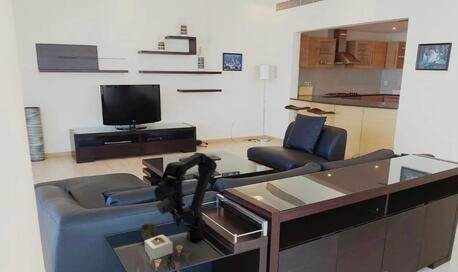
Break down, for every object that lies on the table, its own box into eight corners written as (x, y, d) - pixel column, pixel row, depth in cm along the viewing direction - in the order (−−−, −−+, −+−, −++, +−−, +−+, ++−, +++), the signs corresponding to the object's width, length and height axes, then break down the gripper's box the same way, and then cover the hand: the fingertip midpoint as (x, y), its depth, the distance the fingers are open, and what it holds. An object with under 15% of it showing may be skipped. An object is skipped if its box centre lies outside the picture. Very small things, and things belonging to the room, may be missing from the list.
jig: (163, 244, 153) (162, 234, 152) (172, 252, 147) (172, 242, 146) (145, 250, 148) (144, 240, 147) (153, 259, 141) (153, 249, 140)
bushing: (160, 248, 150) (160, 236, 149) (165, 252, 147) (164, 239, 146) (152, 251, 148) (151, 238, 146) (156, 255, 145) (156, 242, 143)
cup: (153, 247, 151) (152, 230, 149) (138, 245, 153) (137, 229, 151) (160, 239, 158) (159, 223, 157) (145, 237, 160) (144, 222, 158)
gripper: (148, 190, 144) (150, 223, 148) (169, 203, 130) (171, 240, 133) (171, 184, 151) (173, 216, 154) (193, 196, 137) (194, 232, 140)
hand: (177, 226), depth 145 cm, fingers closed
